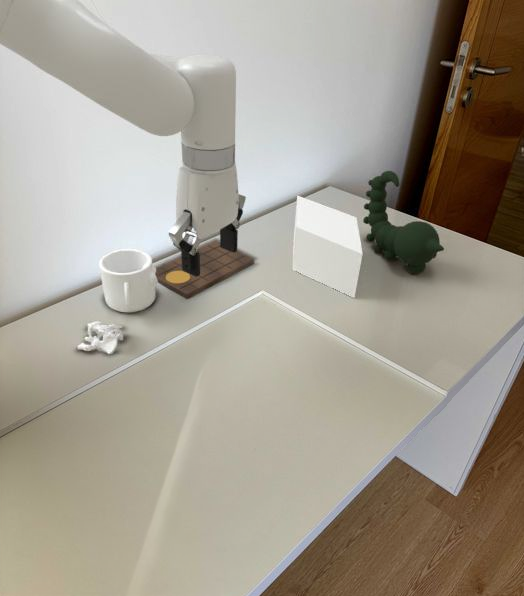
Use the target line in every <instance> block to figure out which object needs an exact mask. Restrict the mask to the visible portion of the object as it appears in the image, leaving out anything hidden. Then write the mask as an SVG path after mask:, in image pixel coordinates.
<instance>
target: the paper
mask: <svg viewBox="0 0 524 596" xmlns="http://www.w3.org/2000/svg"><path fill="white" fill-rule="evenodd" d="M357 218H358V217H357V216H354V215H351V214H348V213H346V212H343V211H340V210H338V209H335V208H332V207H330V206H326V205H324V204H321V203H319V202H316V201H313V200H311V199H308V198H305V197H302V196H300V195H297V196H296V206H295V216H294V227H293V243H294V244H293V243H292V244H293V245H292V246H293V247H292V266H291V267H292V269H291V270H292V271H294V272H296V271H297V272H296V273H298V272H299V274H300V273H301V275H303V276H305V277H307V278H309V279H311V280H313V279H314V280H313V281H315V282H318V283H320V284H322V283H323V284H322V285H324V284H325V286H326V285H327V287H329V288H331V289H333V288H334V289H333V290H335V289H336V290H335V291H337V290H338V291H337V292H339V291H340V292H339V293H341V294H344V293H345V294H344V295H346V294H347V295H346V296H348V295H349V297H350V296H351V297H350V298H352V297H353V298H352V299H355V298H356V292H357V286H358V281H359V275H360V270H361V265H362V260H363V259H362V258H363V249H362V243H361V236H360V231H359V223H358V219H357Z"/></svg>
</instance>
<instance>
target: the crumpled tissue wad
mask: <svg viewBox="0 0 524 596" xmlns="http://www.w3.org/2000/svg"><path fill="white" fill-rule="evenodd" d="M122 328H123V326H122V325H118V324H113V323H112V324H103V323H102V322H101V321H93V322H90V323H87V334H88V336H85V337H84V340H85V341H86V342H87V343H90V344H85V342H81V343H80V344H78V345H77V349H78V350H83V351H85V352H90V351H92V350H97V352H99V353H107V355H112V354H113V353H114V352H115V350H116V348H117V345H118V341H123V340H124V335H123V332H122ZM92 332H94V333H96V335H94V336H93V334H92ZM101 338H102V340H101Z"/></svg>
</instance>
